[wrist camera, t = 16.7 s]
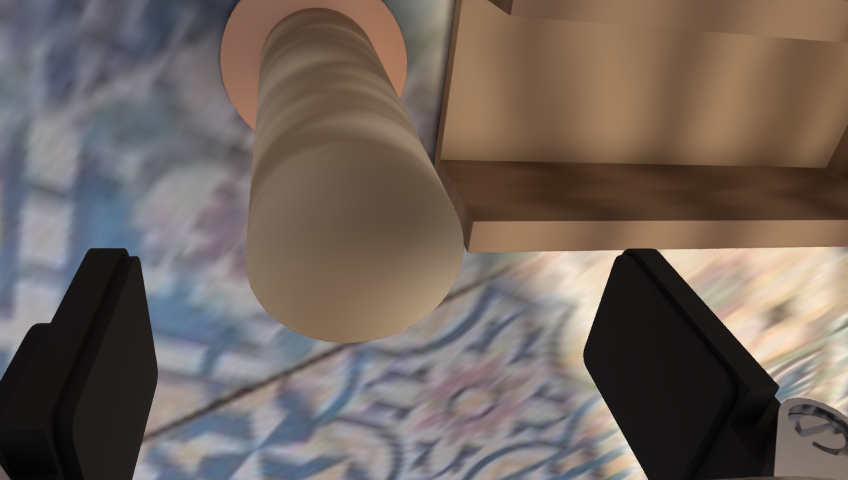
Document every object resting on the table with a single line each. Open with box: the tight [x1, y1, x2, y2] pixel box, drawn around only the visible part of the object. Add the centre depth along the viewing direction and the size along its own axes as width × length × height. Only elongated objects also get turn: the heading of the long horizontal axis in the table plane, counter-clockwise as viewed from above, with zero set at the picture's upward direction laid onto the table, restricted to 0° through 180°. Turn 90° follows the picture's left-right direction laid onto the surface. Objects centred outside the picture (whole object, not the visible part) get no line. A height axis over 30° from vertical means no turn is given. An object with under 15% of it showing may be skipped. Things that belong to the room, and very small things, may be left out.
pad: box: [220, 0, 407, 130], centre depth 26 cm, size 8×8×1 cm
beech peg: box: [245, 8, 464, 343], centre depth 20 cm, size 5×5×15 cm
